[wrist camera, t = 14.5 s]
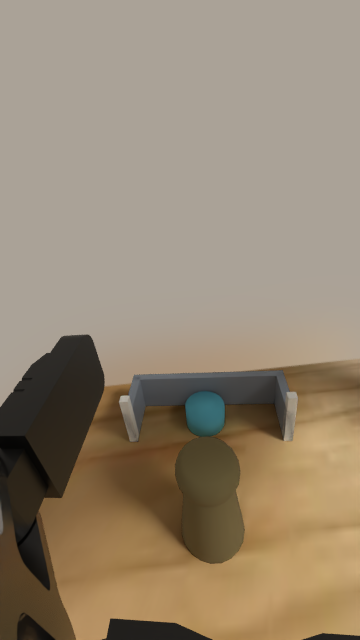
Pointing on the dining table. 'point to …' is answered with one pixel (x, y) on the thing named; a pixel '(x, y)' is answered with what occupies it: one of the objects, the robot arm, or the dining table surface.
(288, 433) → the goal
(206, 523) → the cork
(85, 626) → the dining table surface
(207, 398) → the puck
